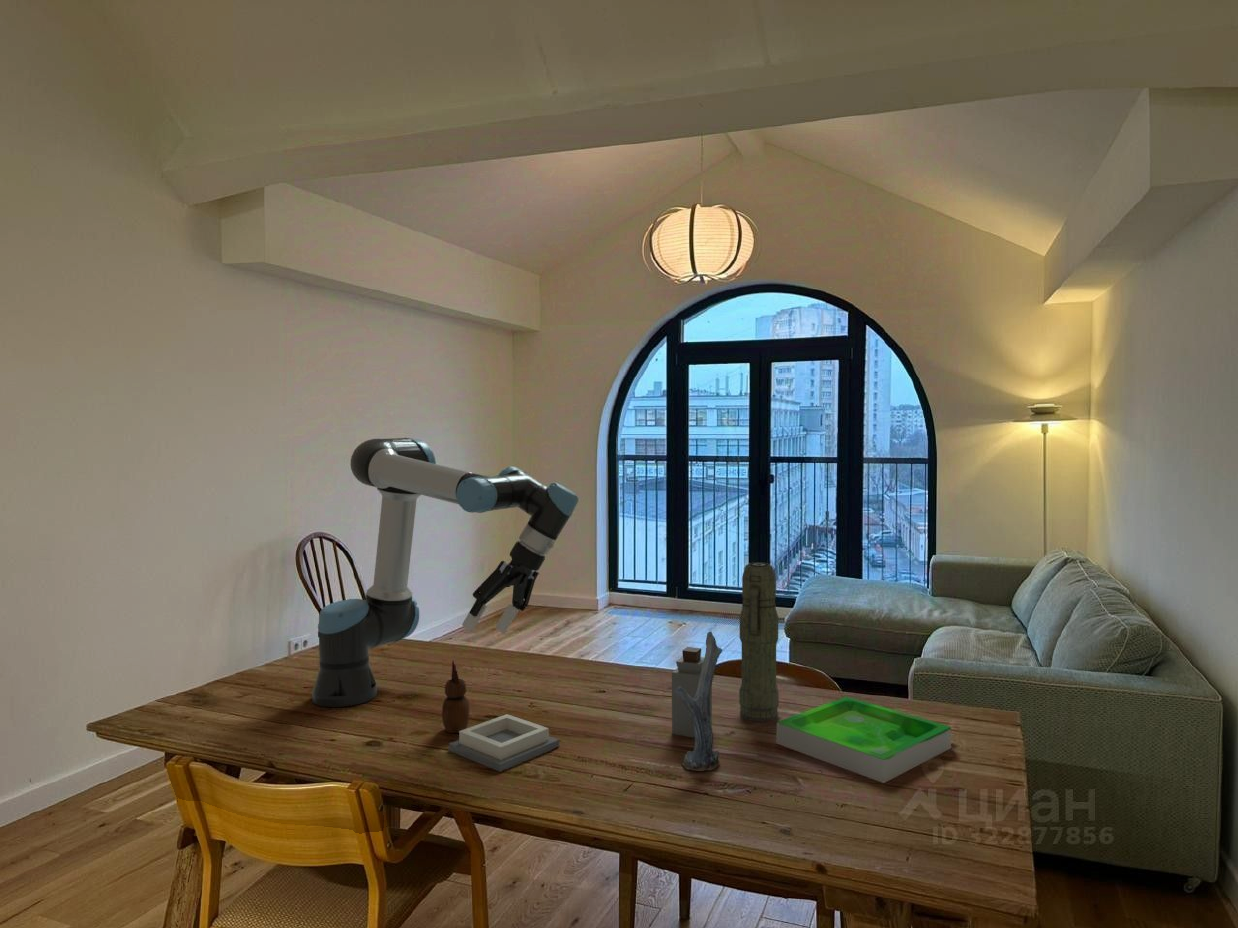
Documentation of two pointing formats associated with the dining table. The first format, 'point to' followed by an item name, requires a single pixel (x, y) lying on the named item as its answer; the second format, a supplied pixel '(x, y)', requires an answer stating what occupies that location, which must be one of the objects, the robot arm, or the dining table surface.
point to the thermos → (759, 643)
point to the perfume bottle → (689, 680)
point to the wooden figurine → (455, 704)
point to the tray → (864, 737)
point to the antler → (702, 712)
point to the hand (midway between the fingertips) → (483, 629)
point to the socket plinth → (503, 742)
